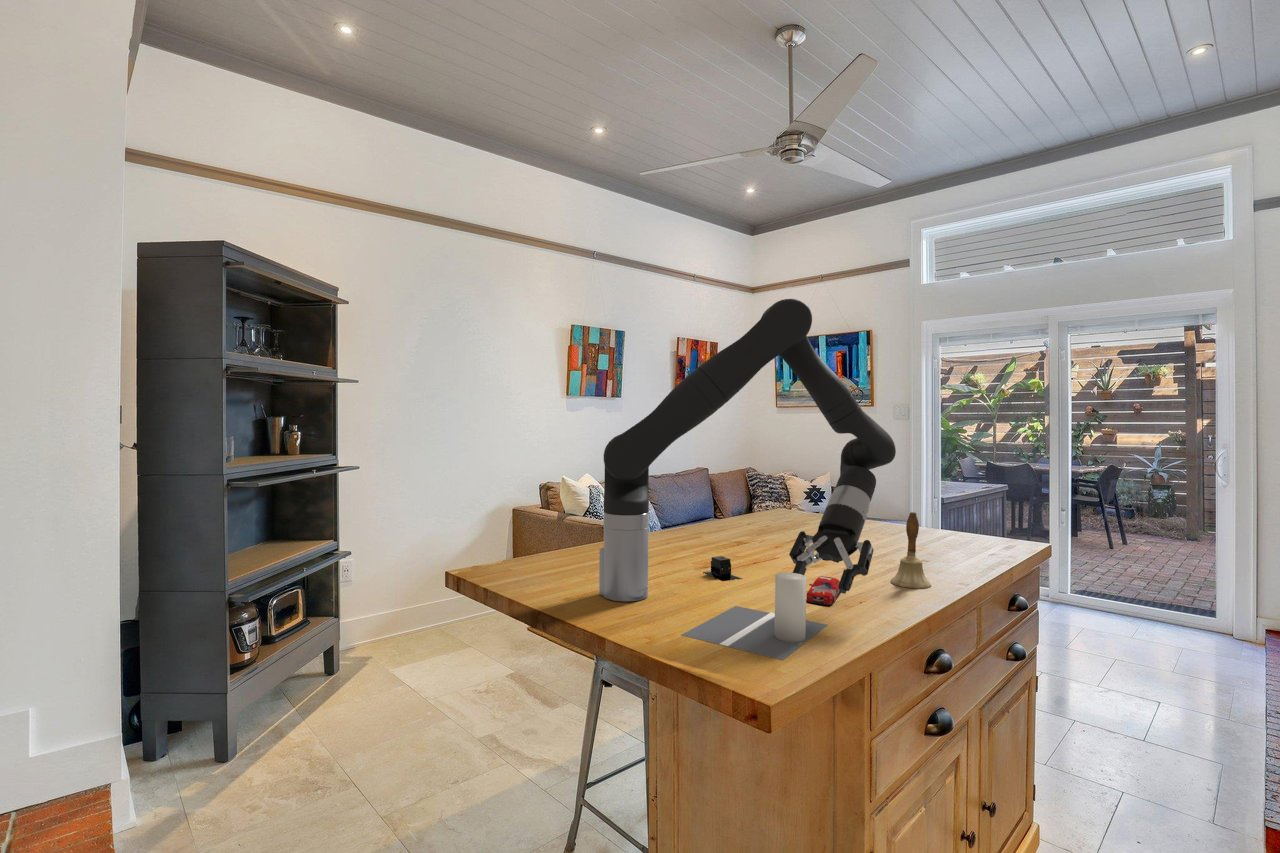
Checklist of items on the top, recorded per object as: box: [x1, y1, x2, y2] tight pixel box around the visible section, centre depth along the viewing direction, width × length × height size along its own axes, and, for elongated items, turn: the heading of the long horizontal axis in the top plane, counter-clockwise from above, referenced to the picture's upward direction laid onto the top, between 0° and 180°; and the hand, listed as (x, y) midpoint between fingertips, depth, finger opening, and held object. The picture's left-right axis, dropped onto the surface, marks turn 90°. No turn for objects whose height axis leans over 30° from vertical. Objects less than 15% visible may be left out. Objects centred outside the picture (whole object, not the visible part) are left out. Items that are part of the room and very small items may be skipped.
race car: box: [806, 576, 842, 606], centre depth 128 cm, size 13×5×4 cm, turn 151°
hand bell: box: [890, 511, 932, 590], centre depth 139 cm, size 8×8×16 cm
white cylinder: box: [774, 572, 807, 642], centre depth 103 cm, size 5×5×10 cm
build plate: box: [702, 555, 743, 582], centre depth 145 cm, size 12×7×5 cm, turn 27°
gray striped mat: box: [681, 605, 829, 661], centre depth 107 cm, size 18×20×1 cm
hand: (818, 586), depth 111 cm, fingers open, 8 cm apart
